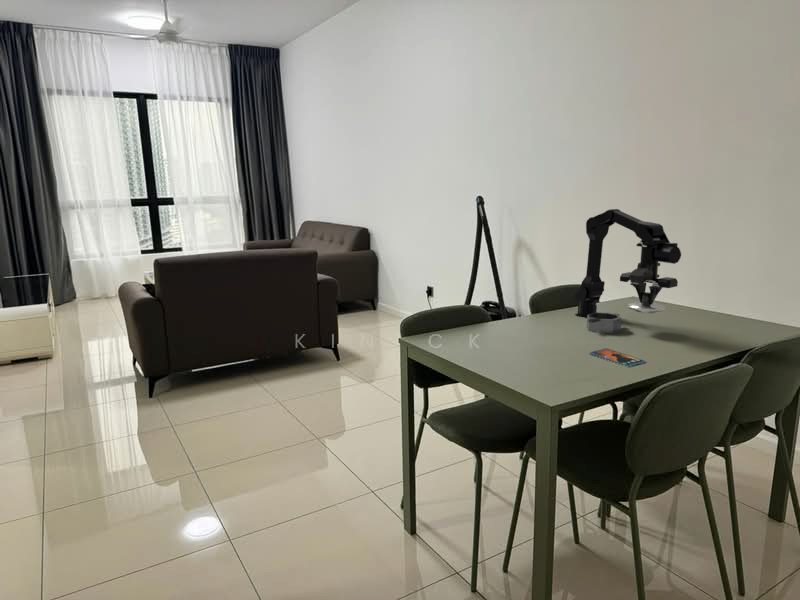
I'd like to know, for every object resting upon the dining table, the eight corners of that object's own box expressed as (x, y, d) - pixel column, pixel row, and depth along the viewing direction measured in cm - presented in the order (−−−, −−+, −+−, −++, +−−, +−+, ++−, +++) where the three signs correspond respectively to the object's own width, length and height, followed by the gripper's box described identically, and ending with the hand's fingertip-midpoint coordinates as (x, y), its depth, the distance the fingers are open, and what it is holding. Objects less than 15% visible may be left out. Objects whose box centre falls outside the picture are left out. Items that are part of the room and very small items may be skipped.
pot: (577, 329, 206) (577, 316, 205) (603, 323, 215) (604, 310, 214) (603, 336, 197) (604, 322, 196) (629, 328, 206) (630, 315, 205)
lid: (620, 310, 201) (621, 292, 200) (639, 305, 208) (640, 288, 207) (652, 316, 192) (653, 297, 190) (670, 311, 198) (672, 293, 197)
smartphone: (628, 366, 164) (588, 352, 177) (628, 370, 165) (588, 356, 177) (647, 360, 168) (606, 346, 181) (646, 364, 169) (606, 350, 181)
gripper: (612, 259, 199) (609, 302, 202) (662, 265, 184) (658, 311, 187) (630, 256, 205) (627, 298, 208) (680, 262, 190) (676, 307, 194)
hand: (646, 303), depth 199 cm, fingers closed on lid, 3 cm apart
